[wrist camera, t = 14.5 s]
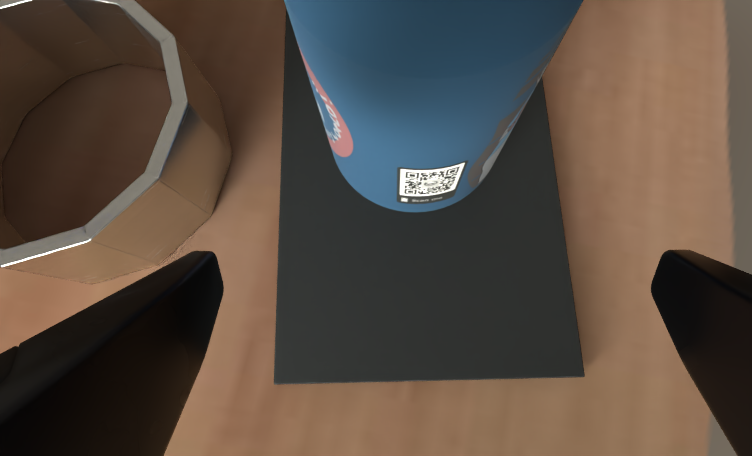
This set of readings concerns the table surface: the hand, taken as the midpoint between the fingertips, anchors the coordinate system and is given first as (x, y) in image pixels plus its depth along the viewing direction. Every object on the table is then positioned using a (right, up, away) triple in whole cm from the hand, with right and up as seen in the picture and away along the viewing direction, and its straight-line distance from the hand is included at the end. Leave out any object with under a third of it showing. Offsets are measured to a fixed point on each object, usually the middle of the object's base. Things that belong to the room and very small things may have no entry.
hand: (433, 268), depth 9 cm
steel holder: (-14, +4, +11) cm, 18 cm away
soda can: (0, +4, +11) cm, 11 cm away
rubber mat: (+1, +5, +11) cm, 12 cm away
